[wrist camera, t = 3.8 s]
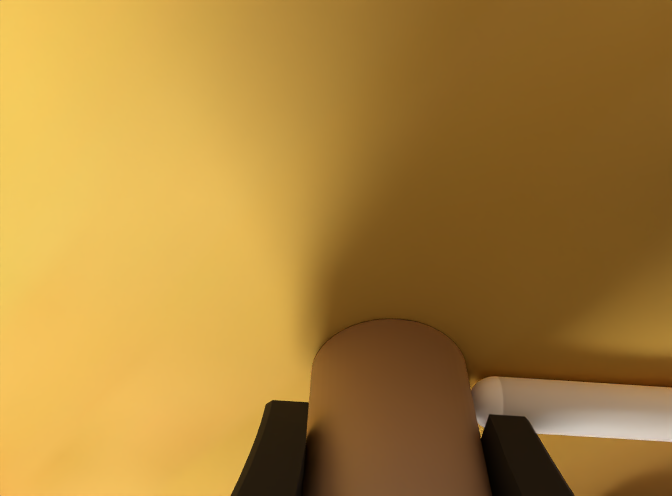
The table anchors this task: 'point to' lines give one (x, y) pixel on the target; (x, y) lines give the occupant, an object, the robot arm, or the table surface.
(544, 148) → the table surface
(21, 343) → the table surface
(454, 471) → the tethered block
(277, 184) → the table surface
